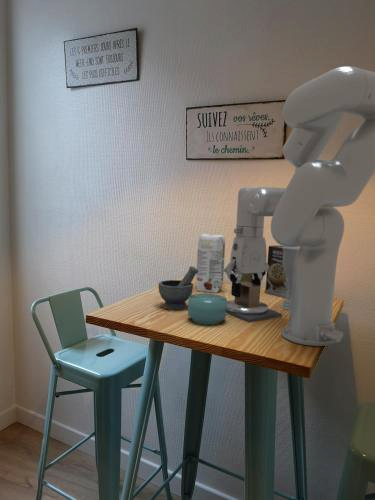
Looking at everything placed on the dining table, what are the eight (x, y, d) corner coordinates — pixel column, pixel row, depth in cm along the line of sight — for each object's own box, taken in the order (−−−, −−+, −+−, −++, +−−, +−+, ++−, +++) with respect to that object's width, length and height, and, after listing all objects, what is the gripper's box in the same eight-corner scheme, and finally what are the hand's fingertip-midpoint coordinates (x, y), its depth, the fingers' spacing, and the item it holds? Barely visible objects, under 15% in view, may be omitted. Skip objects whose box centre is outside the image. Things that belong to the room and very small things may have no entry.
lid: (276, 311, 121) (278, 286, 120) (244, 317, 114) (245, 290, 113) (248, 301, 131) (249, 278, 130) (216, 306, 124) (217, 281, 123)
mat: (281, 316, 119) (281, 313, 119) (249, 322, 113) (249, 319, 112) (241, 301, 133) (241, 299, 133) (210, 306, 127) (210, 303, 126)
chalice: (282, 303, 134) (286, 245, 131) (303, 306, 130) (308, 247, 128) (274, 308, 127) (278, 248, 125) (297, 312, 124) (302, 250, 121)
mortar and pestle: (157, 310, 120) (158, 268, 118) (158, 302, 129) (159, 262, 127) (198, 311, 120) (199, 269, 119) (195, 303, 130) (197, 263, 128)
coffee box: (264, 292, 146) (267, 245, 144) (275, 290, 150) (278, 244, 148) (286, 298, 140) (290, 249, 137) (298, 295, 144) (301, 248, 142)
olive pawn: (253, 294, 143) (255, 262, 141) (235, 293, 144) (237, 260, 143) (254, 290, 149) (256, 259, 147) (237, 289, 150) (238, 258, 149)
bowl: (233, 323, 112) (234, 300, 111) (202, 328, 106) (203, 305, 105) (210, 313, 120) (211, 292, 119) (180, 317, 114) (181, 296, 113)
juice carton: (219, 294, 142) (222, 236, 139) (194, 291, 144) (196, 235, 142) (223, 289, 149) (226, 234, 146) (199, 286, 151) (202, 233, 149)
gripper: (234, 234, 112) (230, 301, 114) (281, 233, 121) (277, 294, 124) (216, 231, 118) (213, 295, 120) (262, 230, 128) (259, 289, 130)
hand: (245, 294), depth 122 cm, fingers open, 6 cm apart
